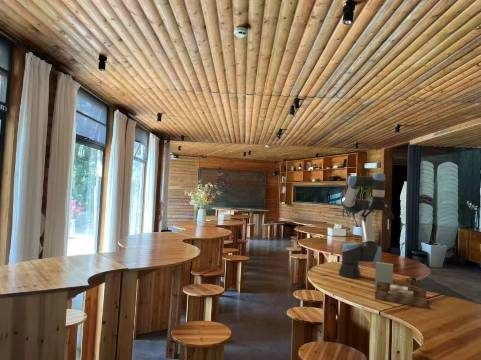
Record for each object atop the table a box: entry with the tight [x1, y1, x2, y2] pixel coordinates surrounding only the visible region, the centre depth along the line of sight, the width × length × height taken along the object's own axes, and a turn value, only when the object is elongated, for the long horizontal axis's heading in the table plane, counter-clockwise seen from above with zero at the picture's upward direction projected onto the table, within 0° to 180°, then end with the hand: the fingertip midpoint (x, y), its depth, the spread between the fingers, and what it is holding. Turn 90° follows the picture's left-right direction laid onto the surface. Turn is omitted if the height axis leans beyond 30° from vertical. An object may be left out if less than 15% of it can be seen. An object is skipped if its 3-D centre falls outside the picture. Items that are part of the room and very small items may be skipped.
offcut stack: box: [388, 284, 413, 297], centre depth 194 cm, size 13×6×6 cm, turn 64°
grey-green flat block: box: [374, 261, 394, 289], centre depth 216 cm, size 10×2×16 cm, turn 64°
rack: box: [374, 281, 428, 309], centre depth 196 cm, size 26×15×6 cm, turn 64°
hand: (377, 228), depth 228 cm, fingers open, 13 cm apart
